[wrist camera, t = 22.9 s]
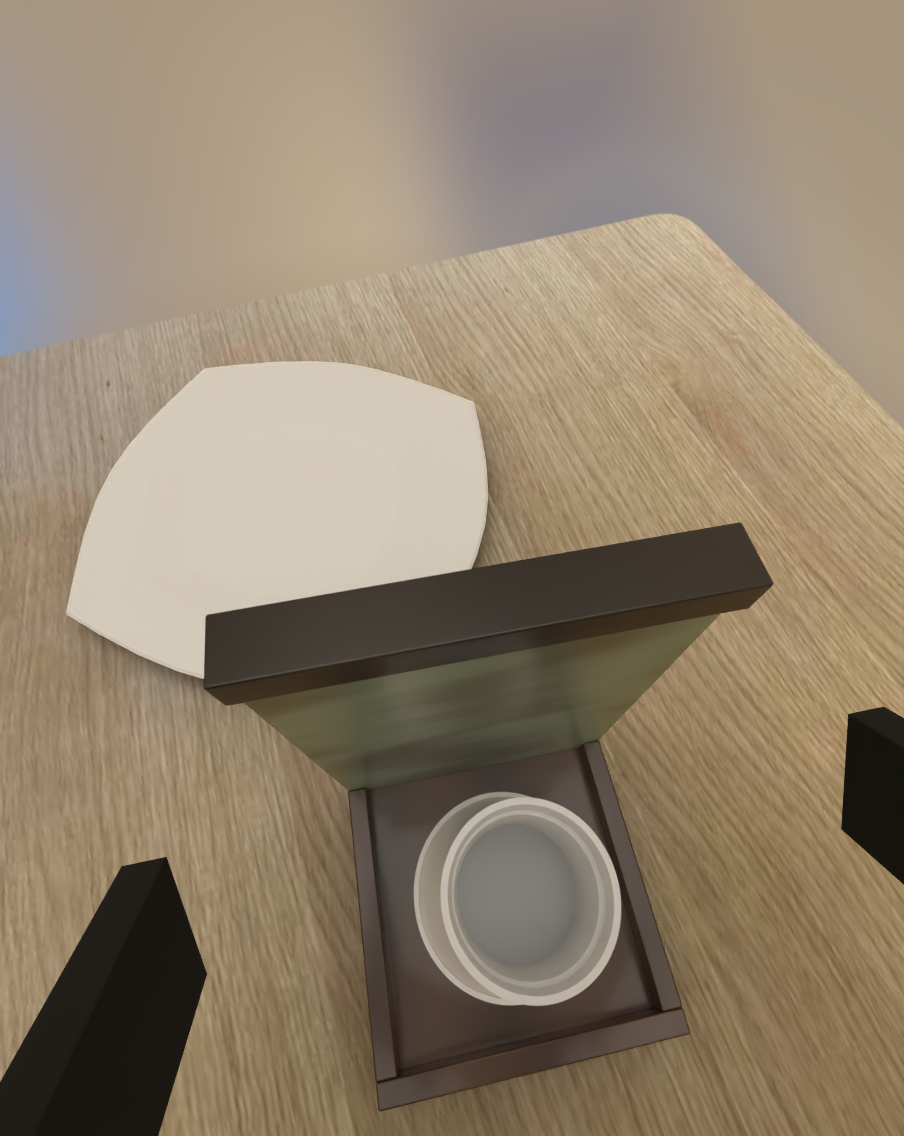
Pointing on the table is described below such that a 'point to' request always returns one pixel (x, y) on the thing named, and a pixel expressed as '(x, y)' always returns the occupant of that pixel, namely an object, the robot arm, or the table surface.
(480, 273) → the table surface
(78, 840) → the table surface
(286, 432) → the plate
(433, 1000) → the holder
